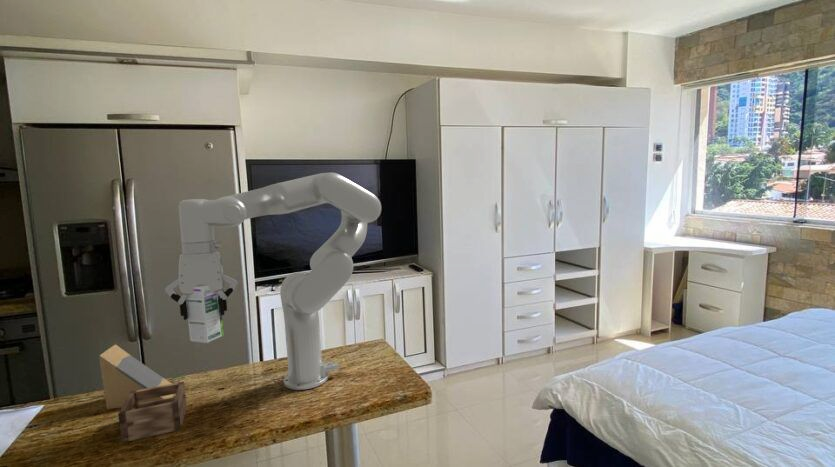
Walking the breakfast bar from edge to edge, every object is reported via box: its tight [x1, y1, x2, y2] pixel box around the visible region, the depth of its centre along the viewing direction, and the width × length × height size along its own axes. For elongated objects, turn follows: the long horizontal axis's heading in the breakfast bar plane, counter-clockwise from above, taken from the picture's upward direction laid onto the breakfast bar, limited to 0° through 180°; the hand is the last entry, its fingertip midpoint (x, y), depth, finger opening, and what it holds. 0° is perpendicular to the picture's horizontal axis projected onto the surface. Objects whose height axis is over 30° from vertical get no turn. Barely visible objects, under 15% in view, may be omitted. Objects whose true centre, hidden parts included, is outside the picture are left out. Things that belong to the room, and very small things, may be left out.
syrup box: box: [185, 286, 225, 344], centre depth 113 cm, size 6×6×14 cm
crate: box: [118, 381, 188, 443], centre depth 108 cm, size 12×12×7 cm
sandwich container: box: [98, 344, 175, 410], centre depth 121 cm, size 9×15×15 cm, turn 100°
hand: (204, 315), depth 113 cm, fingers closed on syrup box, 8 cm apart
